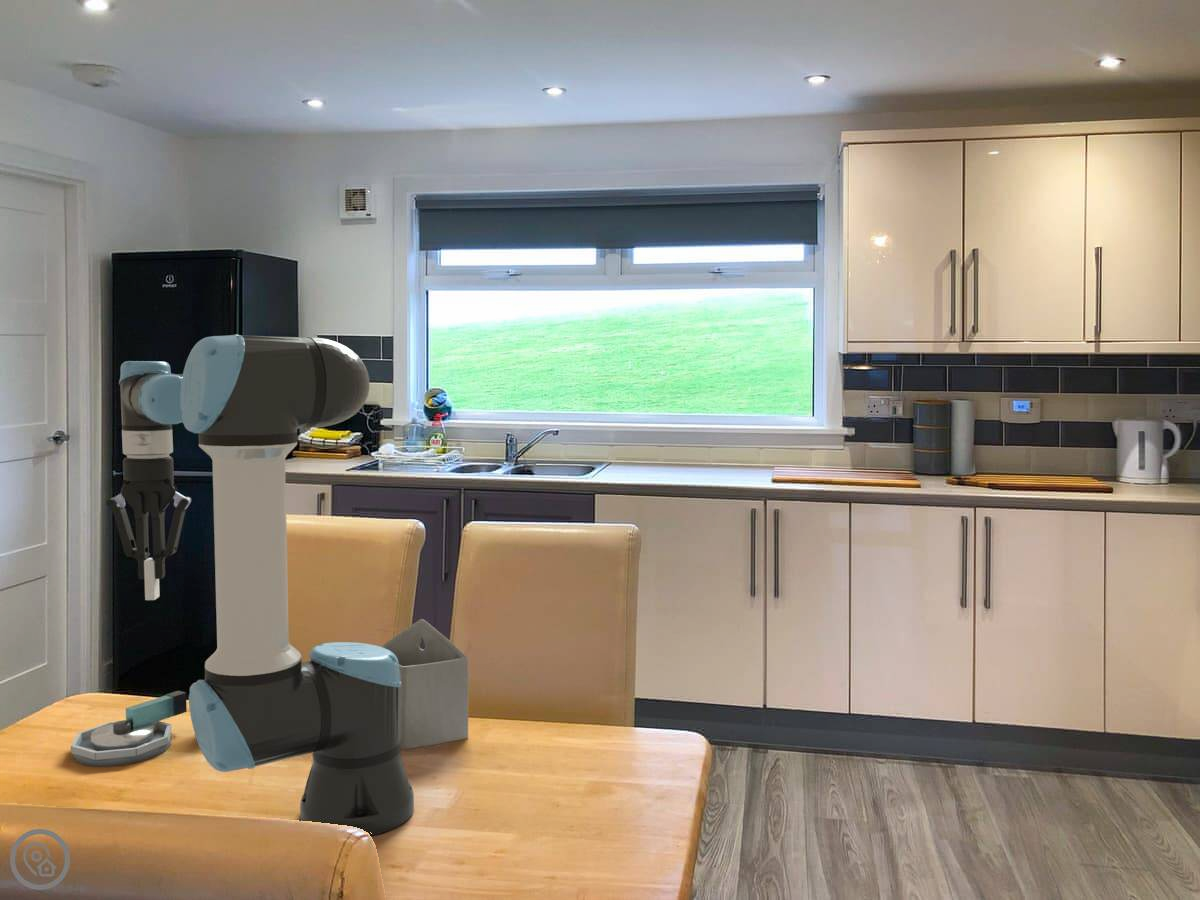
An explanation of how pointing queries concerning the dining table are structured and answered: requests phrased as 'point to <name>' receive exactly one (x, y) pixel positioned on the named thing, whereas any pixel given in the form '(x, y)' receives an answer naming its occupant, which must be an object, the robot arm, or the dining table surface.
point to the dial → (138, 723)
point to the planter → (430, 687)
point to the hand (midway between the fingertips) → (152, 598)
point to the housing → (102, 758)
